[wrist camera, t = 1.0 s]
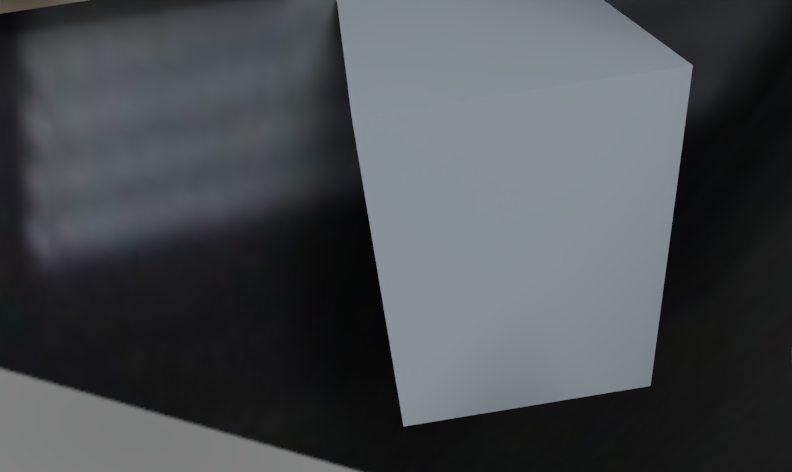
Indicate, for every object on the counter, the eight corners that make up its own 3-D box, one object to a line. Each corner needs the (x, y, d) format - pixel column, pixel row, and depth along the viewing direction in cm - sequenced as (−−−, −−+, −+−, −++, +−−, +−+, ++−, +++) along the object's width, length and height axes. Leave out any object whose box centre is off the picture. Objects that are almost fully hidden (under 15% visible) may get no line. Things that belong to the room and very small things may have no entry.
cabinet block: (555, -36, 18) (692, 65, 12) (551, 236, 23) (646, 414, 17) (336, -3, 18) (351, 117, 12) (380, 263, 23) (407, 453, 17)
